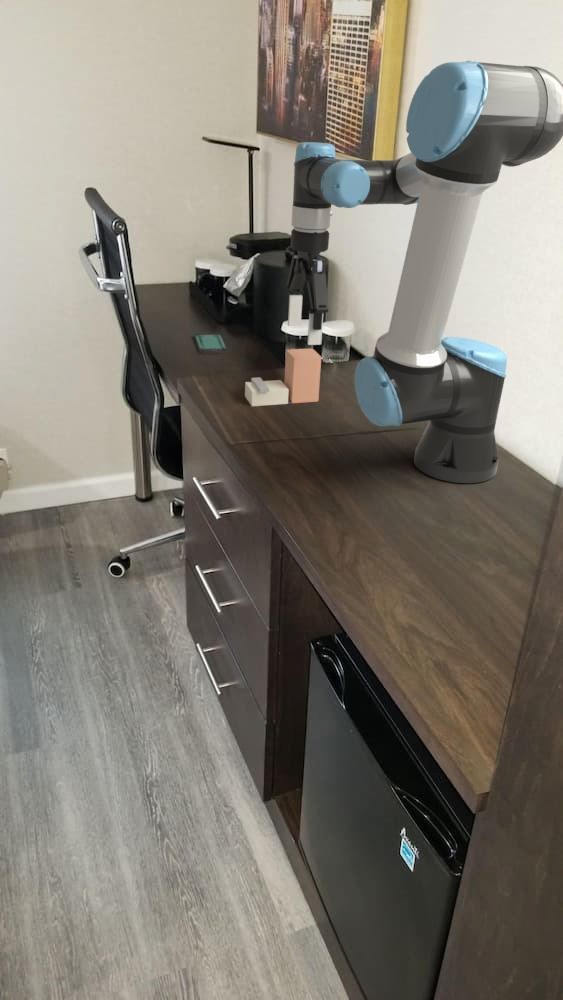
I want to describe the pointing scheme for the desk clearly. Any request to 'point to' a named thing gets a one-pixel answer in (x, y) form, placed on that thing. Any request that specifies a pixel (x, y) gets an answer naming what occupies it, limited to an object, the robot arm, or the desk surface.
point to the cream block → (266, 392)
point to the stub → (302, 375)
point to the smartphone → (210, 343)
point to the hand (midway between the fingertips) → (303, 334)
